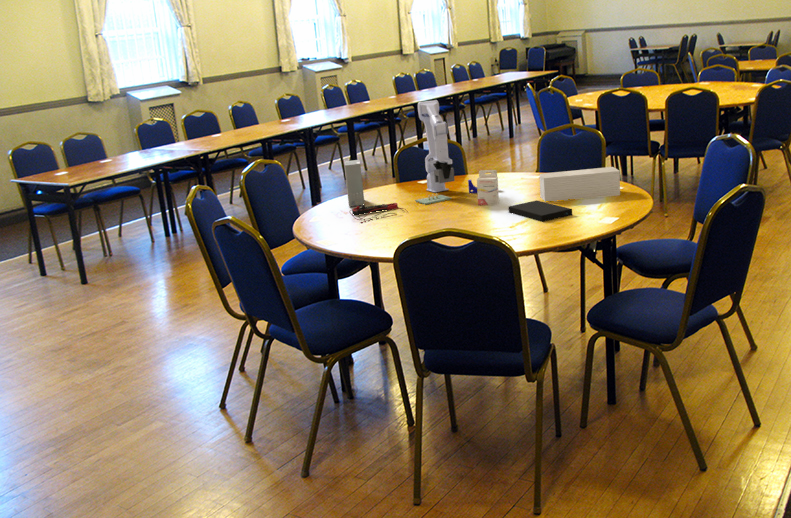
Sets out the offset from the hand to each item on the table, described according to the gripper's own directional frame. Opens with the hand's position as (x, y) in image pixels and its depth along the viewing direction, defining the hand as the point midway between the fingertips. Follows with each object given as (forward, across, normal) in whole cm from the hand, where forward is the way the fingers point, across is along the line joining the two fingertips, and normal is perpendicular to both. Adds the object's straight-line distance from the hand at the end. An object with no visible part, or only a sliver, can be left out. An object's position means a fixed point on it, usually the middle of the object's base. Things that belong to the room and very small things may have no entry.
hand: (444, 178), depth 338 cm
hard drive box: (+9, -24, -36) cm, 44 cm away
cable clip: (+9, +4, +18) cm, 20 cm away
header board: (+9, +2, -8) cm, 12 cm away
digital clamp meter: (+10, +7, -39) cm, 41 cm away
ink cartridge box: (+9, +30, +4) cm, 31 cm away
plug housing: (+2, 0, 0) cm, 2 cm away
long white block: (+10, +49, +39) cm, 63 cm away
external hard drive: (+10, +62, +8) cm, 63 cm away
